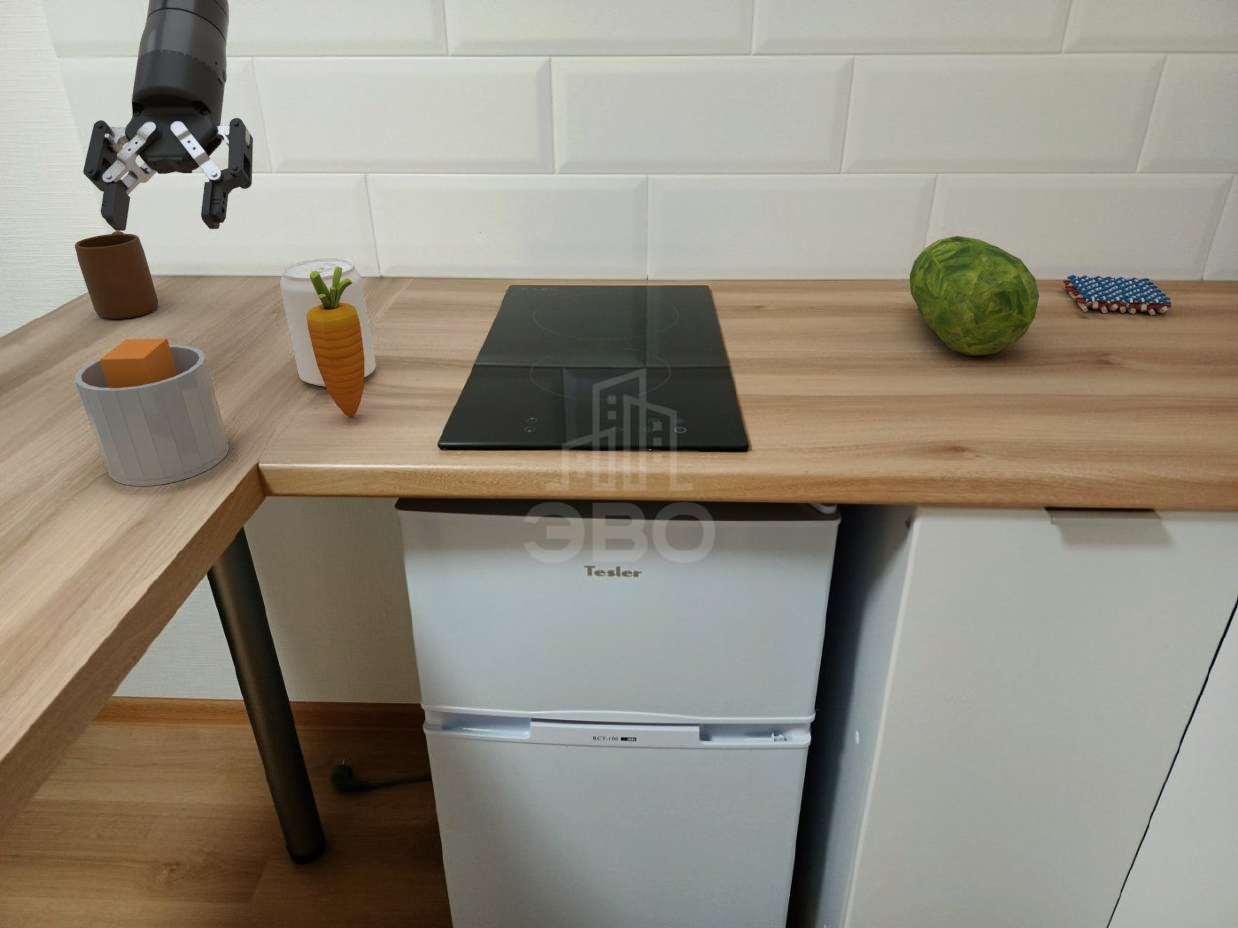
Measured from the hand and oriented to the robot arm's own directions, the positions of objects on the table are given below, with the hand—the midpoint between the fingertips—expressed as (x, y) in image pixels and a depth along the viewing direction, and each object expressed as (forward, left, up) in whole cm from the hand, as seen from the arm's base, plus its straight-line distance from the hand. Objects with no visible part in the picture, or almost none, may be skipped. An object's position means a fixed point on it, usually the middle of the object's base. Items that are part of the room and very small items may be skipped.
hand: (162, 225), depth 78 cm
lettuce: (+67, +49, -19) cm, 85 cm away
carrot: (+14, +4, -19) cm, 24 cm away
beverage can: (+6, +12, -19) cm, 23 cm away
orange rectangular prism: (+4, -9, -18) cm, 21 cm away
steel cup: (+4, -9, -18) cm, 21 cm away
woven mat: (+85, +68, -19) cm, 111 cm away
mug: (-36, +21, -19) cm, 45 cm away
